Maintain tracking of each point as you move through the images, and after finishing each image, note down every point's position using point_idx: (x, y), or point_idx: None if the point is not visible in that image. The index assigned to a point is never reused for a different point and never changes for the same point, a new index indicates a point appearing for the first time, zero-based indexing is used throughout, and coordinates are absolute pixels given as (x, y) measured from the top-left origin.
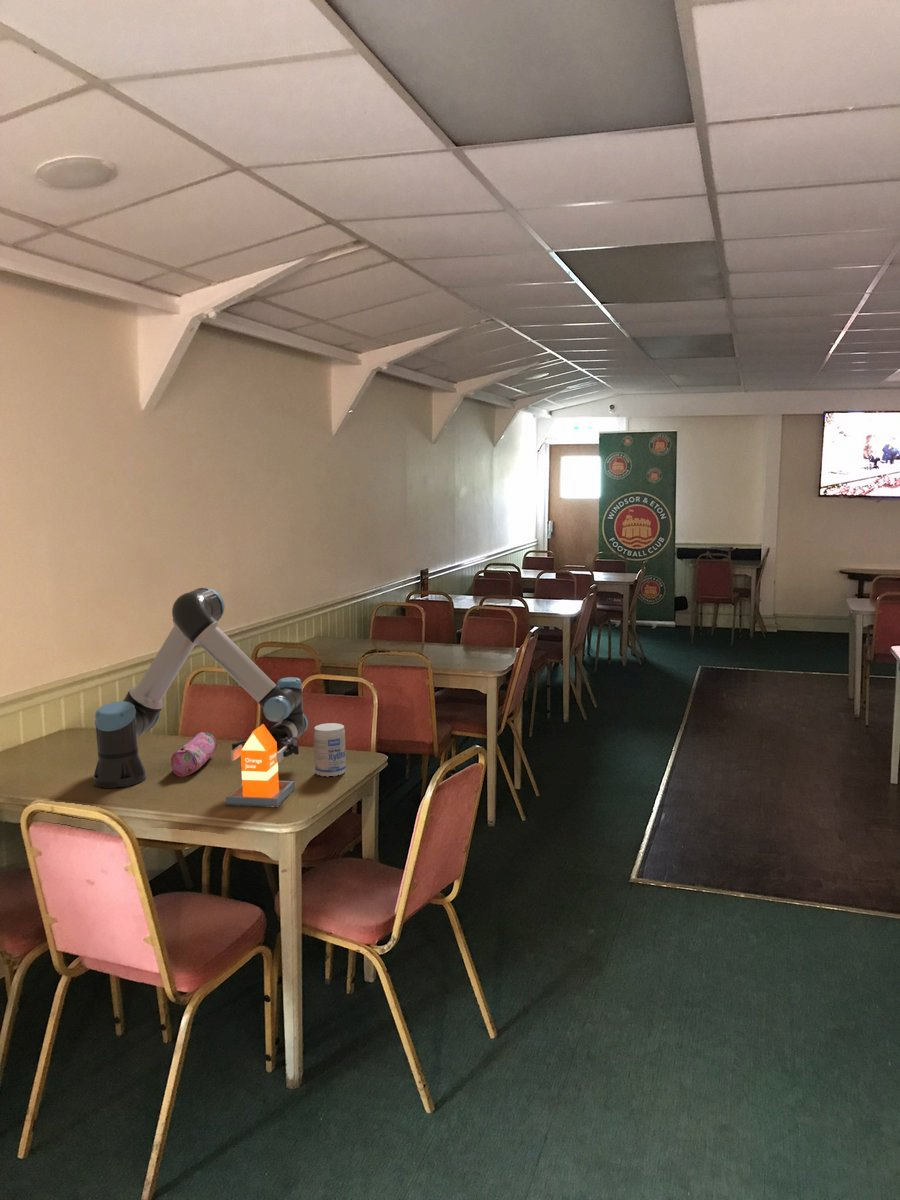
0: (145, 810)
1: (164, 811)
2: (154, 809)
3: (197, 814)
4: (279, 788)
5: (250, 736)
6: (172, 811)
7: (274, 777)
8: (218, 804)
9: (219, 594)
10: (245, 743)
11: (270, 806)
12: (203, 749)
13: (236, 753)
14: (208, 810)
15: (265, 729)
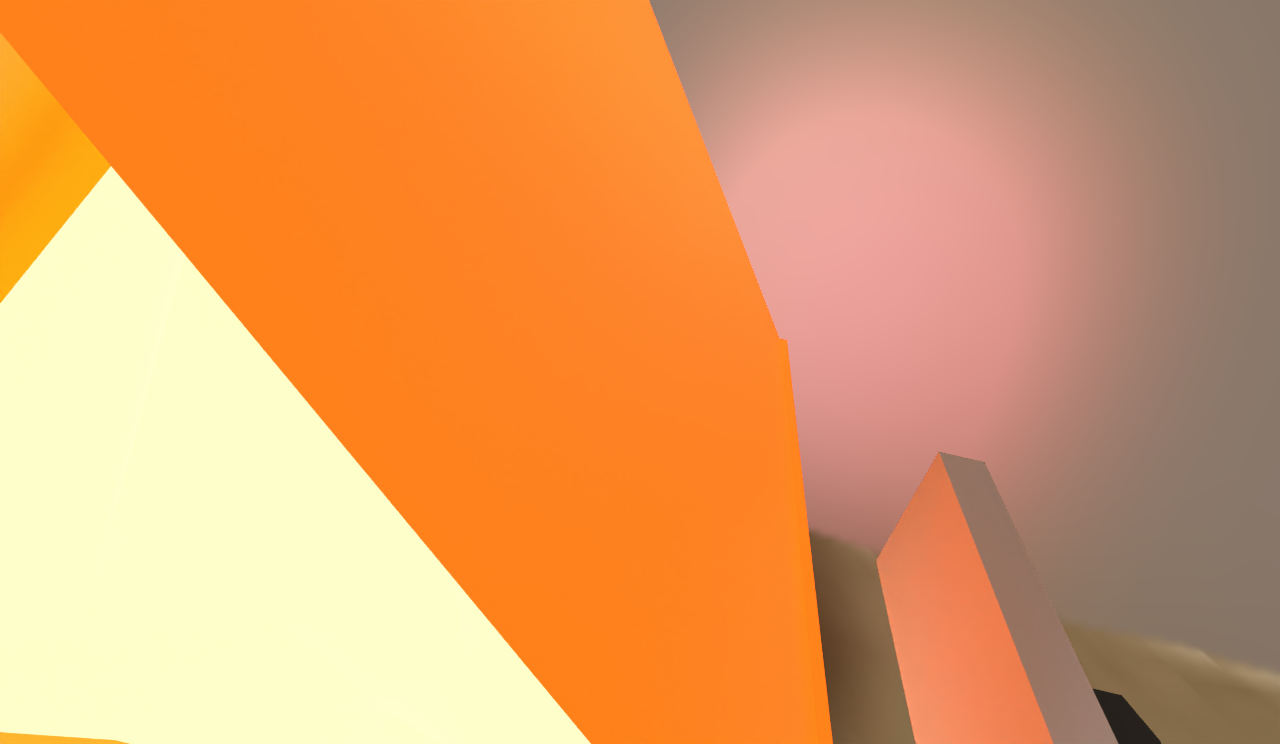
0: (1257, 672)
1: (1118, 637)
2: (1220, 683)
3: (871, 560)
4: None
5: (665, 66)
6: (1067, 630)
7: None
8: (835, 730)
9: None
10: (728, 207)
11: None
12: None
13: (941, 608)
14: (841, 614)
15: (1, 158)
